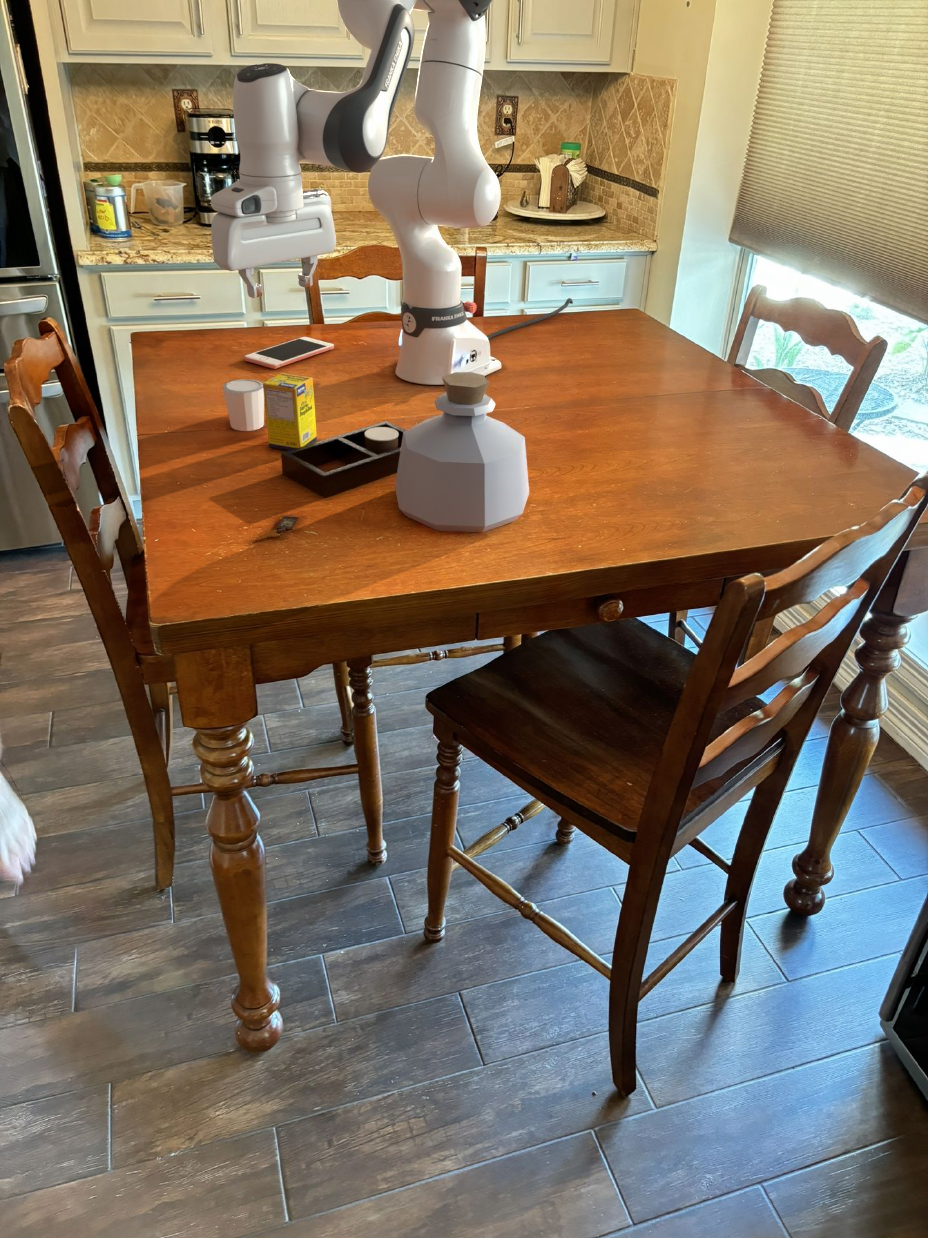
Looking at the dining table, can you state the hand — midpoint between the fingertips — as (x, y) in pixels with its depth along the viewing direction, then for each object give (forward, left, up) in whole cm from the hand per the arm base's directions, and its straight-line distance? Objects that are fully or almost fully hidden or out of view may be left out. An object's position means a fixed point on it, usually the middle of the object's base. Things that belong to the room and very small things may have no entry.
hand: (281, 291), depth 141 cm
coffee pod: (-5, +17, -24) cm, 30 cm away
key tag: (+21, +26, -24) cm, 41 cm away
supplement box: (+2, +3, -24) cm, 24 cm away
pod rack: (0, +17, -24) cm, 29 cm away
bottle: (-4, +37, -24) cm, 44 cm away
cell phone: (-25, -36, -24) cm, 50 cm away
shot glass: (+3, -9, -24) cm, 26 cm away
